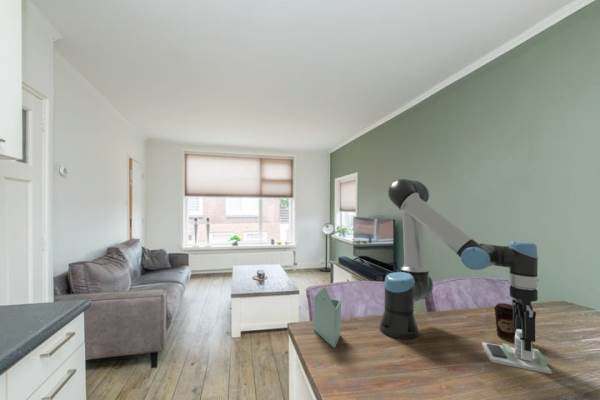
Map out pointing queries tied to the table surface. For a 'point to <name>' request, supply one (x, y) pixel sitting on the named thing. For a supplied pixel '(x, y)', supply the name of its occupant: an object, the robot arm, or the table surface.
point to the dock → (515, 357)
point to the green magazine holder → (327, 317)
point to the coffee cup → (504, 321)
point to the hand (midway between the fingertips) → (523, 355)
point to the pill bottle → (519, 343)
